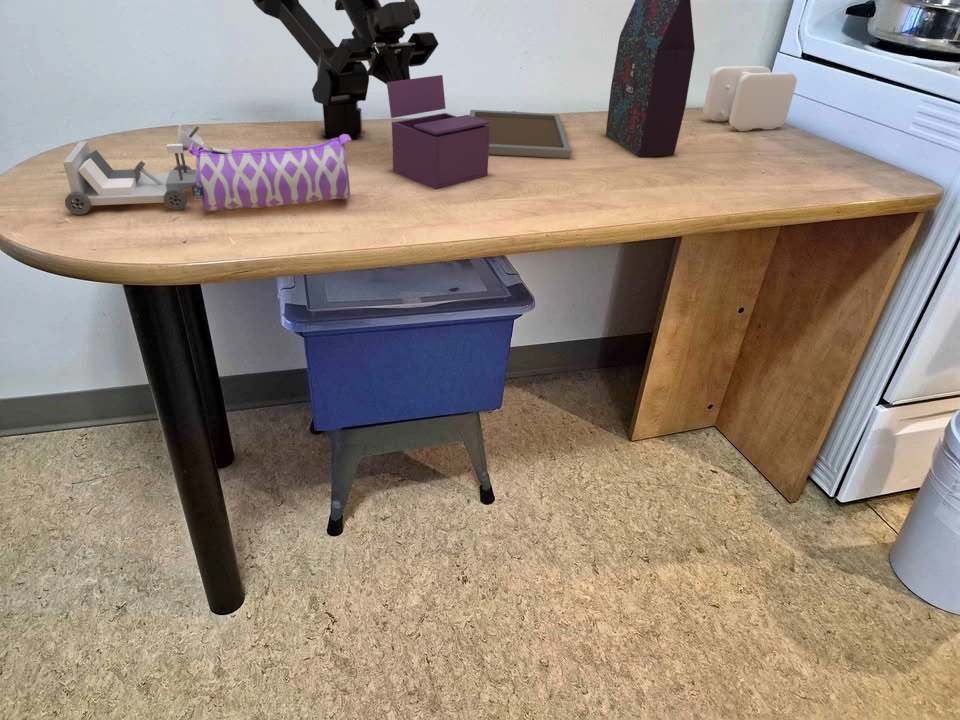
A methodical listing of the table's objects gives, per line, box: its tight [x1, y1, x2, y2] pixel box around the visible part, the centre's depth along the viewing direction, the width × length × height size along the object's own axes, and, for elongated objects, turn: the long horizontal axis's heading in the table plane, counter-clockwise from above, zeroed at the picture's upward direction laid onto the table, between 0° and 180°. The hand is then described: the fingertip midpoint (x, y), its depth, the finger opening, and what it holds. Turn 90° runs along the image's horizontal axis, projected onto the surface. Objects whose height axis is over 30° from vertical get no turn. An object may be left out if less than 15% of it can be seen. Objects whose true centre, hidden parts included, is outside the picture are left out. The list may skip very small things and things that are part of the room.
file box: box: [391, 112, 490, 190], centre depth 113 cm, size 11×12×9 cm
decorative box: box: [605, 0, 696, 158], centre depth 128 cm, size 8×16×28 cm, turn 16°
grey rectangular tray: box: [469, 109, 571, 159], centre depth 137 cm, size 19×2×30 cm
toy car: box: [62, 123, 205, 216], centre depth 97 cm, size 18×10×12 cm
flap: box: [386, 74, 446, 119], centre depth 113 cm, size 5×11×1 cm
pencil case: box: [188, 134, 352, 212], centre depth 98 cm, size 22×9×10 cm, turn 111°
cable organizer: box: [702, 65, 798, 132], centre depth 150 cm, size 15×11×12 cm
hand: (409, 96), depth 114 cm, fingers closed
